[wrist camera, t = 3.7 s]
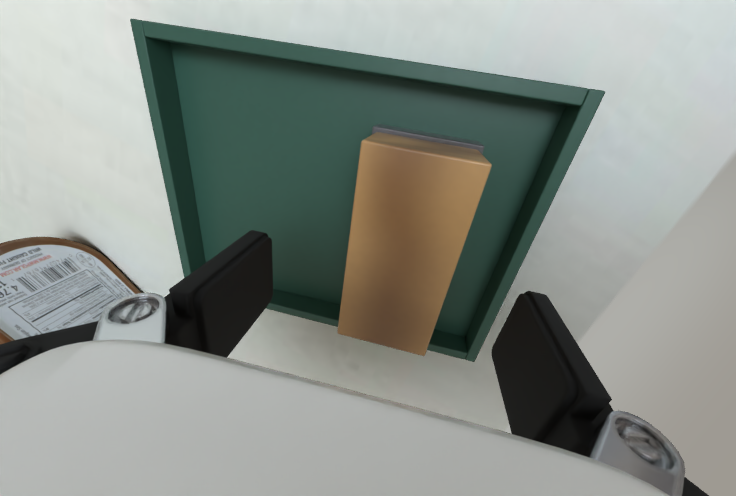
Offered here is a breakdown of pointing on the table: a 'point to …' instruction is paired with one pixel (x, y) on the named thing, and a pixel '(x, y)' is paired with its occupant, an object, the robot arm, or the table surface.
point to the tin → (54, 286)
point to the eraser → (407, 233)
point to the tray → (345, 159)
